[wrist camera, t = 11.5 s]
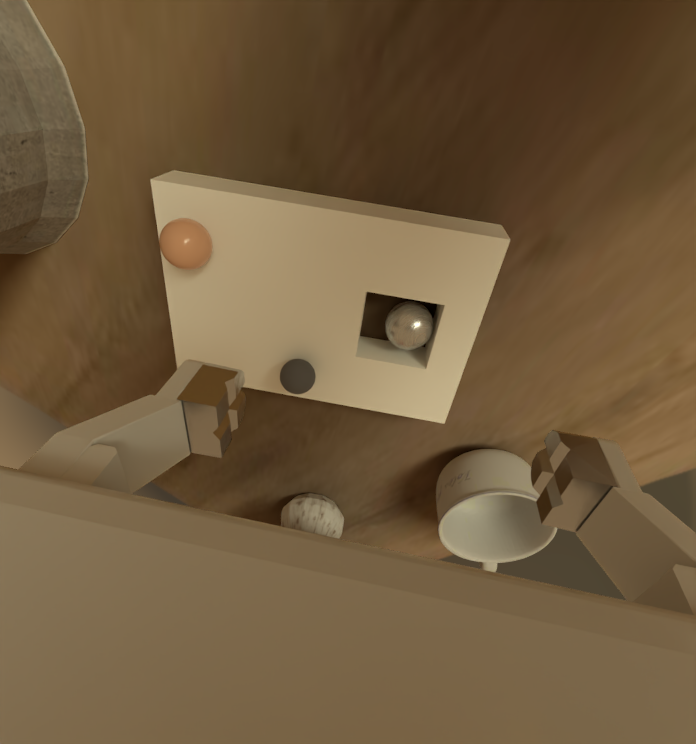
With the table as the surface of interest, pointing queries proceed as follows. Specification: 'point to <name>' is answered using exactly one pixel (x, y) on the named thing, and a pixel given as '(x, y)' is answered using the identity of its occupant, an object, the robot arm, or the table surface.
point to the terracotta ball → (185, 243)
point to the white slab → (326, 290)
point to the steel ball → (409, 325)
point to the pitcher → (36, 136)
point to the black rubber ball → (297, 376)
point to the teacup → (489, 508)
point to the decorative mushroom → (313, 515)
